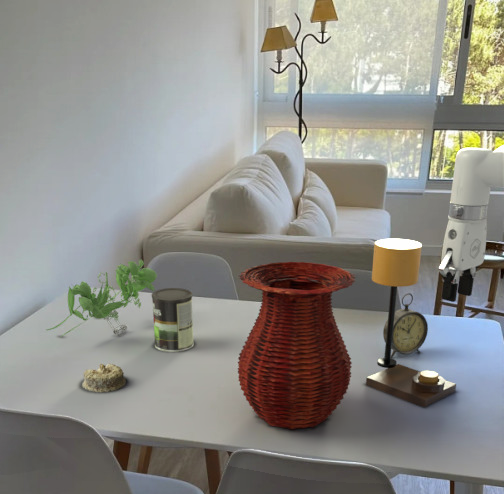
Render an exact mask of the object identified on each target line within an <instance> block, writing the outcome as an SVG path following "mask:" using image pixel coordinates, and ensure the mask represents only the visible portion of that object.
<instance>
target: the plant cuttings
mask: <svg viewBox="0 0 504 494" xmlns="http://www.w3.org/2000/svg"><path fill="white" fill-rule="evenodd" d="M127 264H128V266H127V265H125V264H123V263H120V265H117V267H116V269H115V280H116V284H117V286H118V287H119V289H120V290H119V291H118V292H117V293H116V291H115V288H113V286H112V285H109V279H108V277H109V275H108V272H107V271H105V273H104V272H99V274H98V275H97V279H98V282H99V283H101V285H100V289H99V291H98V294H96V291H97V286H96V287H93V289H92V288H91V286H90V285H89V284H88V283H87V282H85V281H81V282H80V284H75V285H73V284H71V286H72V288H71V287H70V286H68V292H67V307H68V312H69V315H68V316H67V317H66V318H65V319H64V320H63V321H61V322H60V323H59V324H57V325H55V326H53V327H51V328H47V329H45V331H50V330H55V329H57V328H58V327H60V326H61V325H63V324H64V323H66V321H67V320H68V319H69V318H70V317H71V316H73V315H74V316H76V317H77V318H79V319H81V320H83V322H86V321H88V320H89V319H90V318H95V319H99V320H100V319H103V320H106V322H107V324H108V325H109V327H110V328H111V329H112V333H113V335H116V336H118V337H120V336H123V335H124V334H125V332H126V331H127V329H128V325H126V324H125V323H121V322H120V321H119V312H118V311H117V310H118V309H120V308H127V306H128V304H129V303H131V304H132V301H133V305H135V306H137V308H138V309H140V308H141V306H142V302H140V300H141V299H140V298H139V296H140V294H139V292H141V291H142V290H144V289H146V288H147V289H148V290H149V291H153V292H155V291H156V289H155V286H154V285H153V283H154V282H155V281H156V279H157V277H158V274H157V272H156V271H155V270H153V269H151V268H149V267H143V266H144V265H145V263H144V261H143V259H139V260H138V264H137V263H136V262H135V261H134V260H129V261H128V262H127ZM142 267H143V268H142ZM101 275H103V276H105V281H101V279H100V278H99V277H101ZM130 275H131V277H130ZM104 284H105V286H104V289H103V285H104ZM111 290H112V291H113V292H114V296H112V295H111V294H110V291H111ZM119 294H120V300H119V301H116V297H117V295H119ZM76 295H79V297H78V302H79V306H77V308H75V309H74V307H75V300H76V299H75V296H76ZM80 307H81V308H82V312H81V311H80V310H78V309H79V308H80ZM86 311H88V314H87V315H86V317H84V315H83V314H84V312H86ZM111 319H114V321H115V322H116V323H117V325H118V326H116V327H114V326H113V325H112V322H110V320H111ZM83 322H81V323H80V324H78V325H76V326H74V327H72V328H71V329H69V330H68V331H66V332H65V333H63V334H62V335H61V337H63V336H65V335H67V334H68V333H70V332H71V331H73V330H74V329H76V328H77V327H79V326H80V325H82V324H83ZM118 327H119V328H118ZM120 331H122V332H123V333H122V334H120Z"/></svg>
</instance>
